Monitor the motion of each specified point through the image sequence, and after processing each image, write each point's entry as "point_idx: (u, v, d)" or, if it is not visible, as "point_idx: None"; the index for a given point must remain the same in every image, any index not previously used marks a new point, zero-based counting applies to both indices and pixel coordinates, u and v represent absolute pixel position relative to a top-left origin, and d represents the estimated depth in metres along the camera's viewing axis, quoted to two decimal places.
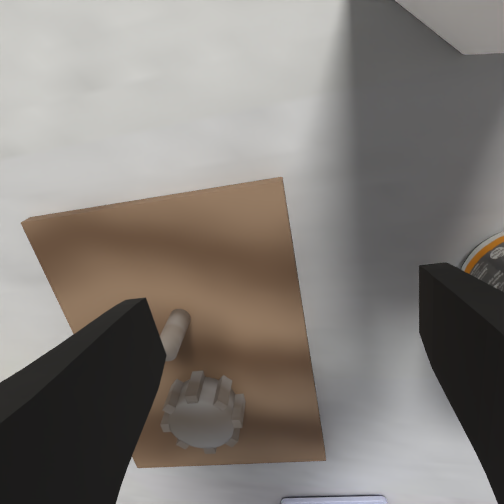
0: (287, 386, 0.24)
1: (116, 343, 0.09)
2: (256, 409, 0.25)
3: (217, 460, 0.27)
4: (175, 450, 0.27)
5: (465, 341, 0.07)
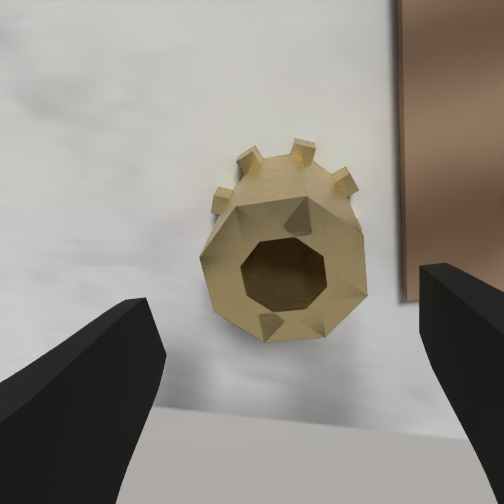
0: None
1: (116, 343, 0.09)
2: None
3: None
4: (490, 259, 0.17)
5: (465, 341, 0.07)
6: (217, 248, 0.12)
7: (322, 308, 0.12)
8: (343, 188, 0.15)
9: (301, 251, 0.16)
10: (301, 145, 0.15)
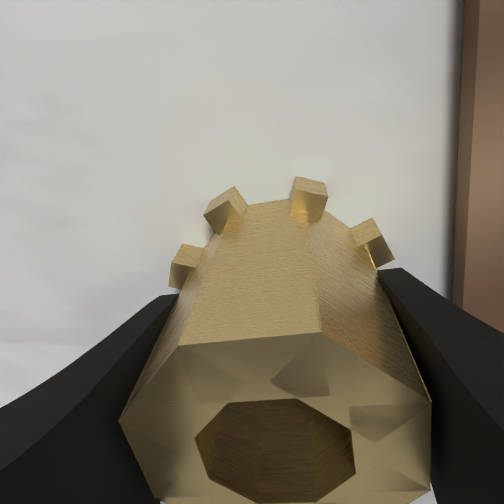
0: None
1: (157, 339, 0.08)
2: None
3: None
4: None
5: None
6: (150, 410, 0.06)
7: (344, 500, 0.07)
8: (370, 256, 0.10)
9: None
10: (305, 192, 0.09)
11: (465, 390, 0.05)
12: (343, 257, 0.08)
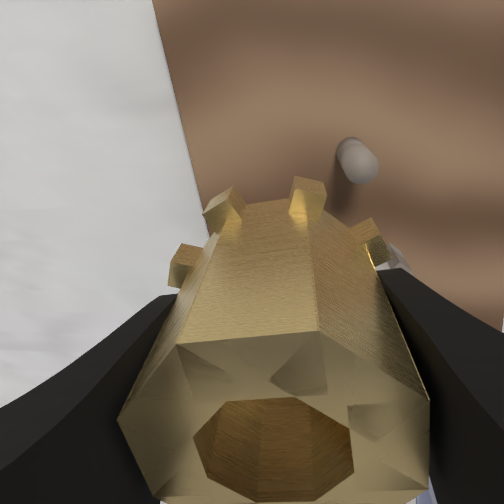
0: (473, 257, 0.18)
1: None
2: None
3: None
4: None
5: (408, 346, 0.07)
6: (148, 408, 0.06)
7: (343, 499, 0.07)
8: (369, 255, 0.10)
9: None
10: (304, 191, 0.09)
11: (465, 390, 0.05)
12: (342, 256, 0.08)
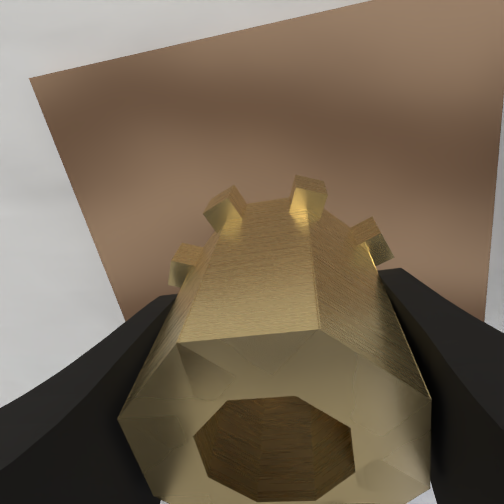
0: None
1: None
2: None
3: None
4: None
5: None
6: (149, 407, 0.06)
7: (344, 499, 0.07)
8: (370, 254, 0.10)
9: None
10: (305, 189, 0.09)
11: (465, 390, 0.05)
12: (343, 255, 0.08)
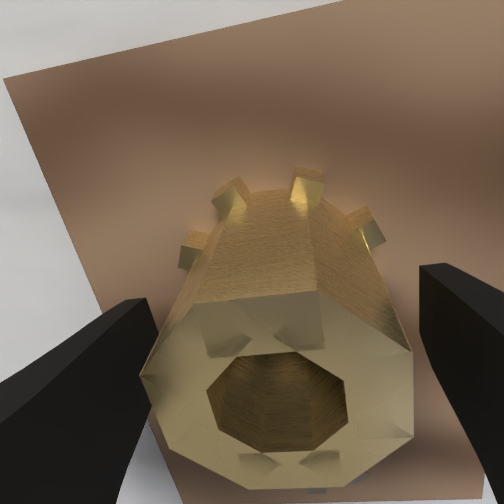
0: None
1: (116, 343, 0.09)
2: None
3: (308, 496, 0.18)
4: None
5: (465, 341, 0.07)
6: (167, 364, 0.07)
7: (338, 449, 0.08)
8: (364, 239, 0.11)
9: None
10: (304, 179, 0.10)
11: None
12: (338, 237, 0.09)
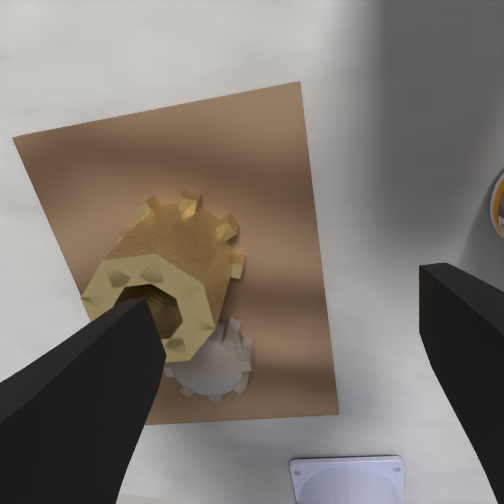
0: (300, 328, 0.22)
1: (116, 343, 0.09)
2: (266, 356, 0.23)
3: (223, 415, 0.26)
4: (178, 404, 0.26)
5: (465, 341, 0.07)
6: (93, 291, 0.15)
7: (183, 338, 0.15)
8: (223, 233, 0.18)
9: None
10: (185, 198, 0.18)
11: None
12: (197, 231, 0.17)
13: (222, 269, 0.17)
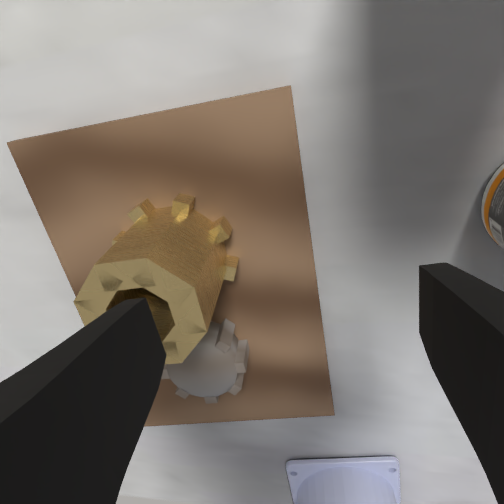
0: (294, 330, 0.22)
1: (116, 342, 0.09)
2: (260, 357, 0.23)
3: (219, 416, 0.26)
4: (174, 406, 0.26)
5: (465, 341, 0.07)
6: (86, 295, 0.15)
7: (175, 341, 0.16)
8: (216, 236, 0.18)
9: None
10: (177, 202, 0.18)
11: None
12: (189, 234, 0.17)
13: (215, 272, 0.17)
